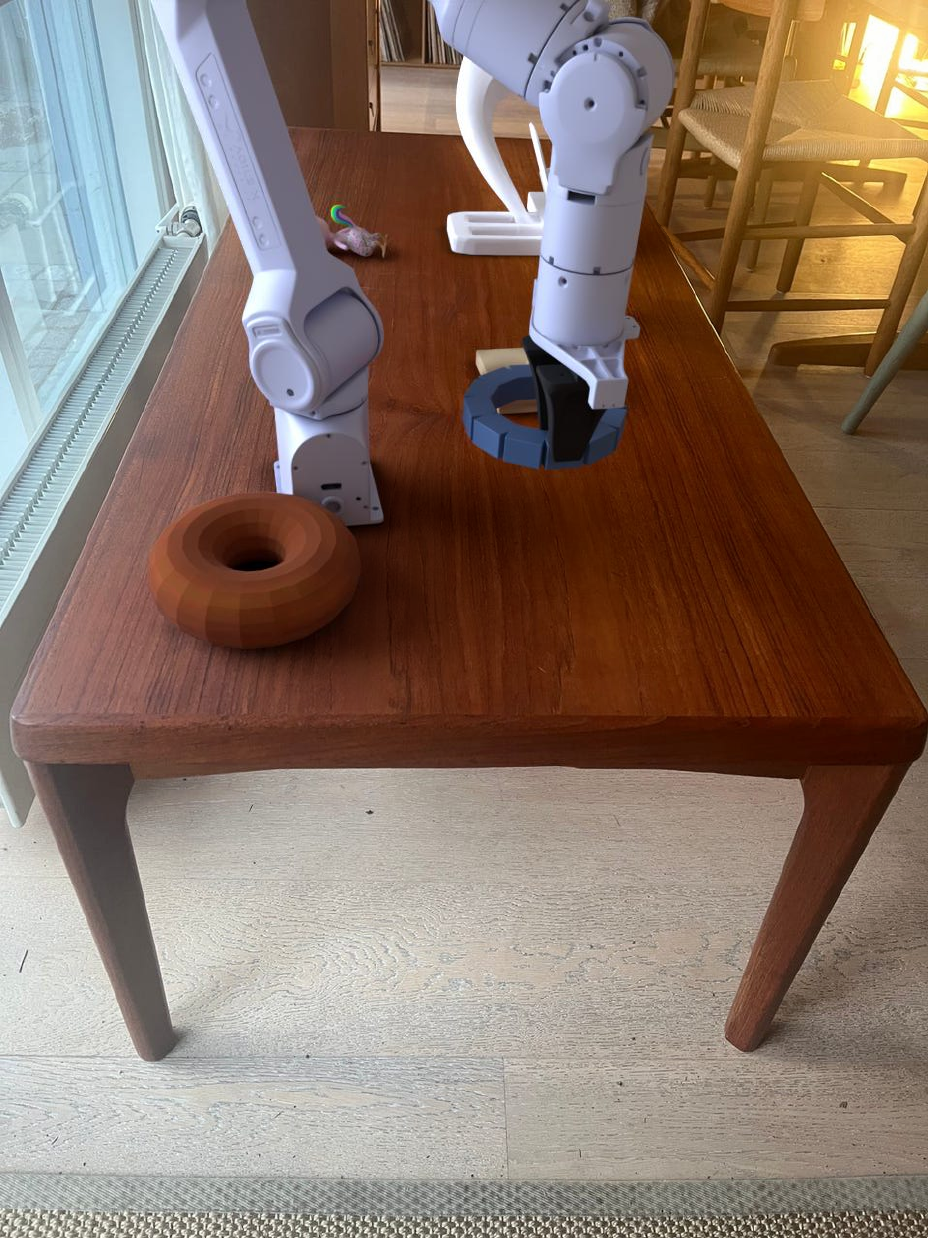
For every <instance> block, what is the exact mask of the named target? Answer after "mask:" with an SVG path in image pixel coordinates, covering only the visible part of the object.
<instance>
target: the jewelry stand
mask: <svg viewBox="0 0 928 1238" xmlns="http://www.w3.org/2000/svg"><path fill="white" fill-rule="evenodd" d="M455 95H456V96H455V97H456V98H455V108H456V109H455V110H456V118H457V123H458V126H459V130H460V133H461V137H462V139H463V142H464V144H465V145H466V148H467V150H468V152H469V154H470V155H471V157H472V159H473V161H474V163H475V165H476V166H477V168H478V170H479V172H480V173H481V175H482V177H483V178H484V179H485V181H486V183H487V184H488V185H489V187H490V188H491V189H492V190H493V192H494V193H495V194H496V196H497V197H498V198H499V199H500V200H501V201H502V203H503V204H504V206H505V207H506V208H507V210H508V211H458V212H452V213H449V214H448V215H447V221H446V232H447V236H448V240H449V244H450V249H451V251H452V252H454V253H456V254H464V255H470V256H471V255H472V256H539V257H540V251H541V243H542V233H543V224H544V214H545V204H546V194H547V185H548V176H549V172H550V167H547V165H546V161H545V157H544V152H543V149H542V148H543V147H542V144H541V142H540V141H541V140H540V138H539V135H538V132H537V129H536V127H535V125H534V123H533V122H529V125H528V126H529V132H530V136H531V140H532V144H533V148H534V152H535V157H536V161H537V164H538V167H539V171H538V174H539V178H540V182H541V186H542V190H543V191H528V193H527V194H528V195H527V205H526V206H527V207H526V208H525V205H524V203H523V200H522V199H521V197H520V194H519V193H518V190H517V189H516V186H515V184H514V183H513V181H512V178H511V177H510V175H509V172H508V170H507V168H506V166H505V163H504V161H503V158H502V156H501V153H500V151H499V148H498V144H497V143H496V138H495V134H494V127H493V117H494V113H495V110H496V108H497V106H498V105H499V103H501V101H502V100H504V99H506V98H507V97H509V96H512V95H516V94H515V93H514V92H513V91H511V90H510V89H509V88H507V87H506V86H504V85H503V84H502V83H500V82H499V81H498V80H496V79H495V78H494V77H492V76H491V75H489V74H488V73H487V72H485V71H484V70H483V69H481V68H480V67H478V66H477V65H476V64H474V63H473V62H472V61H470V60H469V59H468V58H466V57H465V56H463V58H462V61H461V65H460V69H459V73H458V78H457V85H456V94H455Z"/></svg>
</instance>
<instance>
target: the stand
mask: <svg viewBox="0 0 928 1238" xmlns="http://www.w3.org/2000/svg"><path fill="white" fill-rule="evenodd" d="M532 311H533V306H532V305H531V311H530V316H531V315H532ZM528 335H530V334H529V333H528ZM525 364H529V361H528V359H527V356H526V353H525V351H524V348H523V347H513V348H496V349H495V348H494V349H477V350H476V352H475V365H476V368H477V370H478V372H479V374H480V376H481V375H483V374H486V373H488V372H491V371H494V370H496V369H499V368H501V367H506V368H508V369H509V365H525ZM496 411H497V413H499V414H500V415H510V414H525V413H527V414H528V413H538V412H537V402H536V399H533V400H516V401H514V402H512V403H509V404H507V405H504V406H502V407H500V408H497V409H496Z"/></svg>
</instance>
